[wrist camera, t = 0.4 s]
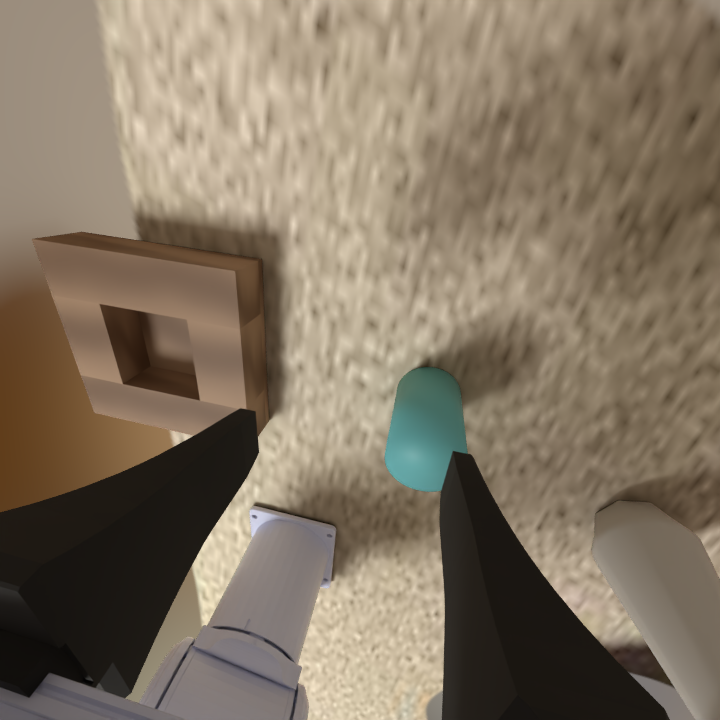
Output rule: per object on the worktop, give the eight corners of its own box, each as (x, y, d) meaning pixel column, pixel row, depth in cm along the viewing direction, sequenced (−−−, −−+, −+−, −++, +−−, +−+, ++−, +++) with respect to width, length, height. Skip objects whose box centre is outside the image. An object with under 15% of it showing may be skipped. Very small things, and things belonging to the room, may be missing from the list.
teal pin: (452, 424, 22) (457, 499, 17) (392, 412, 23) (379, 481, 18) (467, 373, 20) (478, 439, 15) (402, 361, 21) (390, 421, 16)
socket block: (268, 420, 25) (249, 448, 23) (127, 390, 27) (94, 412, 24) (262, 259, 19) (234, 271, 17) (81, 231, 21) (31, 238, 18)
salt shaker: (583, 549, 25) (704, 851, 14) (574, 495, 23) (708, 800, 12) (680, 545, 23) (913, 893, 12) (679, 486, 21) (964, 841, 10)
